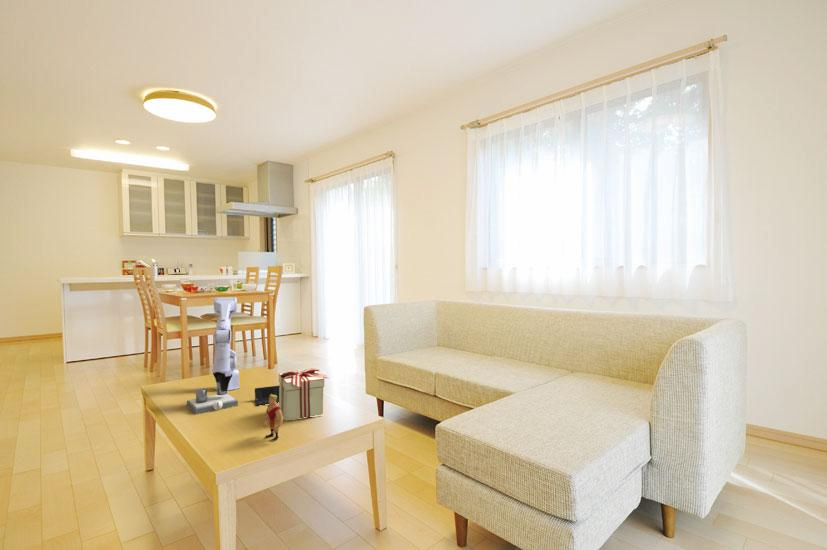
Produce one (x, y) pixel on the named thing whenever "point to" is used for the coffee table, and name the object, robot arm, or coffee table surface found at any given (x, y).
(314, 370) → the gift box
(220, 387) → the cylinder
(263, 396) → the handheld gaming console
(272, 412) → the action figure
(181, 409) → the coffee table surface
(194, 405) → the white grey-edged panel
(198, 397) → the cylinder
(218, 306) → the robot arm
